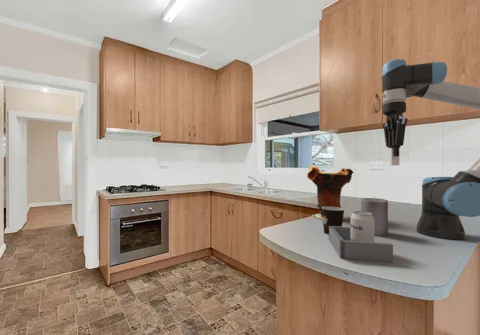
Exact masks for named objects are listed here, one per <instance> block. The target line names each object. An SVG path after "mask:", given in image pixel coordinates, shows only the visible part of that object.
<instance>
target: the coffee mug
mask: <svg viewBox="0 0 480 335" xmlns="http://www.w3.org/2000/svg"><path fill="white" fill-rule="evenodd" d="M344 213H345V208H343V207H341V208H339V207H322V210H321V215H322V218H323V220H322V225H323V232H324V234H325V235H329V226H340V227H343V221H344V220H343V216H345V215H344Z"/></svg>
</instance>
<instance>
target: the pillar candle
mask: <svg viewBox="0 0 480 335" xmlns="http://www.w3.org/2000/svg"><path fill="white" fill-rule="evenodd" d="M375 197H376V196H374V197H363V198H361V199H360V211H363V212H369V213H372V216H373V217H374V219H375V224H374V236H378V237H386V236H388V234H389V201H388V200H387V199H385V198H378V197H377V198H375Z"/></svg>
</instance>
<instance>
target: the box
mask: <svg viewBox="0 0 480 335" xmlns="http://www.w3.org/2000/svg"><path fill="white" fill-rule="evenodd" d="M350 229H351V226H342V227H340V226H329V234H328V241H329V242H330V244H331V245H332V247H333V248H334V250H335V252H336V253H337V255H338V257H339V258H340V259H343V260H344V259H345V260H347V259H348V260H358V261H359V260H360V261H369V262H370V261H371V262H384V263H394V244H393V243H389V242H376V241H374V242H362V241H350Z"/></svg>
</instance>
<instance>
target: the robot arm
mask: <svg viewBox="0 0 480 335" xmlns="http://www.w3.org/2000/svg"><path fill="white" fill-rule="evenodd" d="M381 72H382V75H381V82H382V86H381V88H382V94H381V98H382V104H383V105H382V108H381V109H382V115H384V116H385V117H386V118H385V122H386V123H383V124H382V129H383V133H384V141H385V148H388V149H389V166H400V148H401V146H404V144H405V136H406V135H405V134H406V128H407V127H406V126H407V122H408V117H407V118H406V117H404V113H406V112H407V102H406V101H407V98H412V97H415V98H422V99H426V100H430V101H431V100H432V101H436V102H440V103H447V104H451V105H457V106H461V107H465V108H470V109H476V110H480V87H478V86H472V85H467V84H466V85H465V84H461V83H455V82H449V81H445V79H446V78H447V75H448V66H447V64H446V62H445V61H435V62H434V61H433V62H427V63H425V62H424V63H419V64H418V63H417V64H407V62H406V60H405V59H400V58H398V59H396V58H395V59H392V60H389V61H387V62H386V63H384V64H383V66H382V71H381ZM421 191H422V192H421V215H420V217H419V218H418V221H417V223H416V229H415V231H416V232H417V233H419V234H421V235H425V236H429V237H433V238H438V239H446V240H464V239H466V231H465V229H464V226H463V223H462V220H461V219H460V216H461V217H466V218H473V217H474V218H475V217H479V216H480V158H479V159H478V160H476V162H475V163H473V165H472V166H470V167H469V168H468V169H467V170H459V171H458V172H457V173H456V174H455V175H454V176H432V177H431V176H430V177H425V178H424V179H423V180H422V185H421Z"/></svg>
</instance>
